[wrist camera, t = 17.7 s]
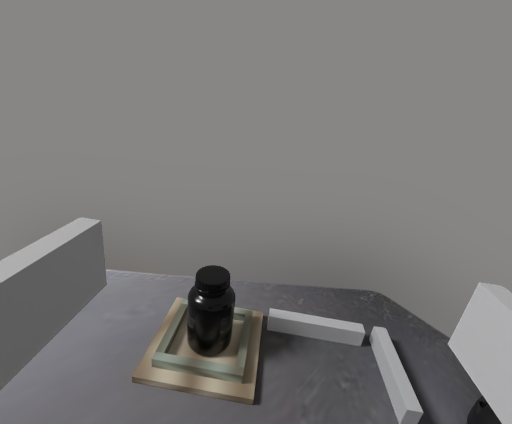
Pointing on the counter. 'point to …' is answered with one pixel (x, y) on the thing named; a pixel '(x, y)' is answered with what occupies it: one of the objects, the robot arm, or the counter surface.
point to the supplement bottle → (210, 311)
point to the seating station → (203, 358)
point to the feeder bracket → (353, 334)
